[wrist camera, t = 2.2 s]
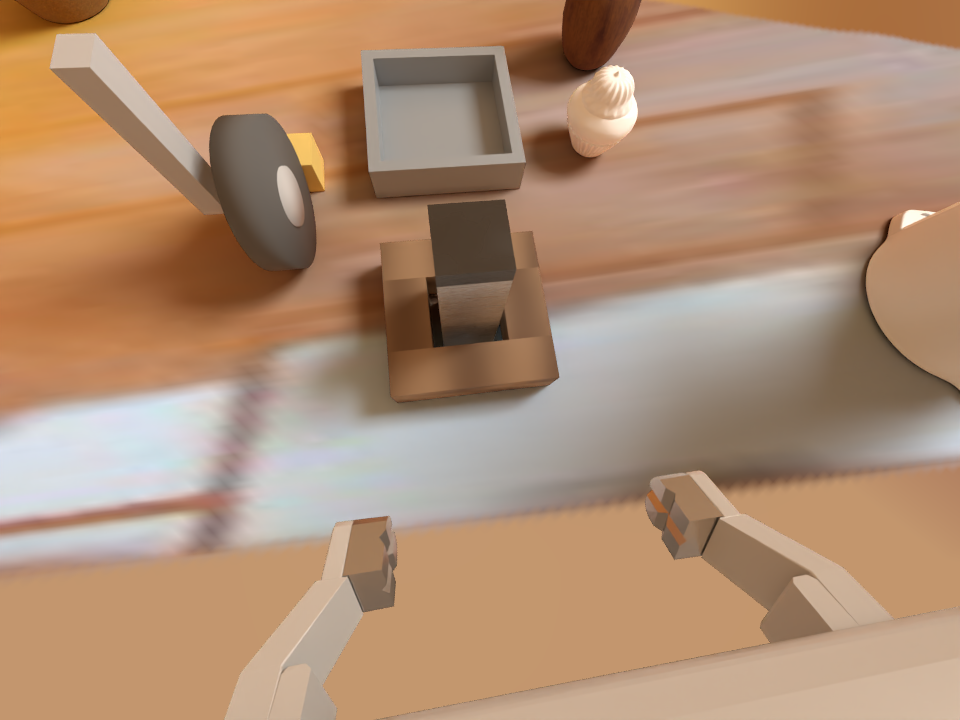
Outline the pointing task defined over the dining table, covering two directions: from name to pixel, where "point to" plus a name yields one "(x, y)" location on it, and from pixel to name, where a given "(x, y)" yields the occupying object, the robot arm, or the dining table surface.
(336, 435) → the dining table surface
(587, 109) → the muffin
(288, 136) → the grey disc with lever
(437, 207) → the pin
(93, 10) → the plant pot
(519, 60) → the dining table surface
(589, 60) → the wooden figurine
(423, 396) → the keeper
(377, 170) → the tray
